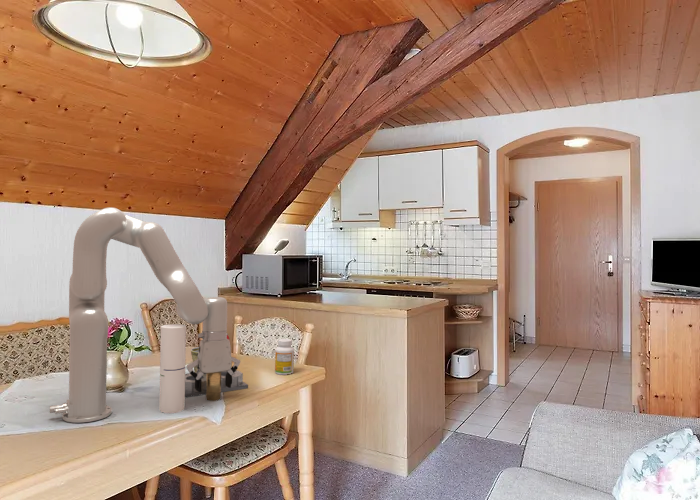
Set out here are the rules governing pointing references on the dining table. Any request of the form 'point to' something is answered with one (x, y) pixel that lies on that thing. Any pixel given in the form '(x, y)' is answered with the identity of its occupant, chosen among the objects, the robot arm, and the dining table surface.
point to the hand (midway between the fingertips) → (213, 388)
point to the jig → (236, 383)
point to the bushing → (213, 386)
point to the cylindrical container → (172, 368)
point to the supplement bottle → (284, 357)
